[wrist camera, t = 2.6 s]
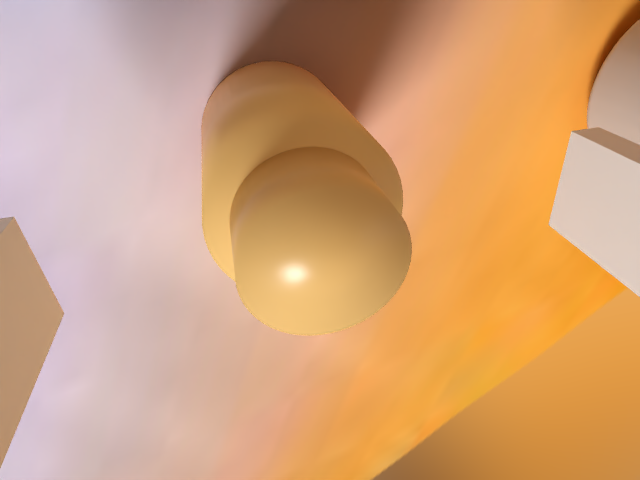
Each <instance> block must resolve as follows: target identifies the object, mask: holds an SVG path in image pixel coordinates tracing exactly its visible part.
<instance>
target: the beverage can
mask: <svg viewBox="0 0 640 480" xmlns="http://www.w3.org/2000/svg"><path fill="white" fill-rule="evenodd" d="M587 126H588V129H590V128H596V127H600V128H602V129H604V130H607V131H609V132H611V133H613V134H616V135H618V136H620V137H623V138H625V139H627V140H630V141H632V142H634V143H636V144H639V145H640V19H639V20H638V21H637V22H636V23H634V24H633V25H632V26H631V27H630V28H629V29H628V30H627V31H626V33H625V34H624V35H623V36H622V37H621V38H620V39H619V41H618V42H617V43H616V45H615V46H614V47H613V49H612V50H611V51H610V53H609V55H608V56H607V58H606V59H605V61H604V63H603V64H602V66H601V68H600V70H599V72H598V75H597V77H596V79H595V81H594V84H593V87H592V90H591V93H590V97H589V102H588V108H587Z"/></svg>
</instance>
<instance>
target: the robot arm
mask: <svg viewBox="0 0 640 480" xmlns="http://www.w3.org/2000/svg"><path fill="white" fill-rule="evenodd" d="M549 226H551V227H552V228H553V229H554V230H556V231H557V232H558V233H560V234H561V235H562V236H563V237H565V238H566V239H567V240H568V241H570V242H571V243H572V244H573V245H575V246H576V247H577V248H579V249H580V250H581V251H582V252H584V253H585V254H586V255H587V256H589V257H590V258H591V259H592V260H594V261H595V262H596V263H598V264H599V265H600V266H601V267H603V268H604V269H605V270H606V271H608V272H609V273H610V274H611V275H613V276H614V277H615V278H617V279H618V280H619V281H620V282H622V283H623V284H624V285H625V286H627V287H628V288H629V289H631V290H632V291H633V292H634V293H636V294H637V295H638V296H639V297H640V145H639V144H636V143H634V142H632V141H630V140H627V139H625V138H623V137H620V136H618V135H616V134H613V133H611V132H609V131H607V130H604V129H602V128H600V127H596V128H590V129H583V130H577V131H572V132H571V136H570V140H569V144H568V148H567V152H566V156H565V160H564V164H563V168H562V172H561V176H560V181H559V185H558V189H557V193H556V197H555V201H554V205H553V209H552V213H551V217H550V221H549ZM63 315H64V312H63V310H62V308H61V306H60V304H59V303H58V301H57V299H56V297H55V295H54V293H53V291H52V289H51V287H50V285H49V283H48V281H47V279H46V277H45V276H44V274H43V272H42V270H41V268H40V266H39V264H38V262H37V260H36V258H35V256H34V254H33V252H32V250H31V249H30V247H29V245H28V243H27V241H26V239H25V237H24V235H23V233H22V231H21V229H20V227H19V225H18V224H17V222H16V220H15V218H14V217H8V218H2V219H0V468H1V465H2V463H3V460H4V458H5V455H6V453H7V451H8V448H9V446H10V443H11V441H12V438H13V436H14V434H15V431H16V429H17V426H18V424H19V422H20V419H21V417H22V414H23V412H24V409H25V407H26V405H27V402H28V400H29V397H30V395H31V392H32V390H33V388H34V385H35V383H36V380H37V378H38V375H39V373H40V371H41V368H42V366H43V363H44V361H45V358H46V356H47V354H48V351H49V349H50V346H51V344H52V342H53V339H54V337H55V334H56V332H57V329H58V327H59V325H60V322H61V320H62V317H63Z"/></svg>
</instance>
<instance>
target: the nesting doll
mask: <svg viewBox="0 0 640 480" xmlns="http://www.w3.org/2000/svg"><path fill="white" fill-rule="evenodd" d="M201 134H202V227H203V233H204V238H205V241H206V244H207V247H208V249H209V251H210V253H211V255H212V257H213V259H214V260H215V262H216V263H217V264H218V266H219V267H220V268H221V269H222V270H223V271H224V272H225V273H226V274H227V275H228V276H229V277H230V278H231V279H233V280H234V281H235V282H236V287H237V290H238V293H239V296H240V298H241V300H242V302H243V304H244V305H245V307H246V308H247V309H248V311H249V312H250V313H251V314H252V315H253V316H254V317H255V318H257V319H258V320H259V321H261V322H262V323H263V324H265V325H267V326H269V327H271V328H273V329H276V330H278V331H281V332H285V333H289V334H295V335H308V336H312V335H323V334H329V333H334V332H338V331H341V330H344V329H347V328H350V327H352V326H354V325H357V324H359V323H361V322H363V321H364V320H366V319H368V318H369V317H371V316H372V315H374V314H375V313H376V312H378V311H379V310H380V309H381V308H382V307H384V306H385V305H386V304H387V303H388V302H389V301H390V299H391V298H392V297H393V296H394V295H395V293H396V292H397V291H398V289H399V288H400V286H401V284H402V283H403V281H404V279H405V277H406V274H407V272H408V269H409V265H410V262H411V254H412V243H411V237H410V233H409V230H408V227H407V225H406V223H405V221H404V219H403V218H402V216H401V215H402V207H403V190H402V185H401V180H400V177H399V174H398V171H397V168H396V166H395V165H394V163H393V161H392V159H391V157H390V156H389V155H388V153H387V152H386V151H385V149H384V148H383V147H382V146H381V145H380V144H379V143H378V142H377V141H376V140H375V139H374V138H373V136H372V135H371V134H370V133H369V132H368V131H367V130H366V129H365V128H364V127H363V126H362V125H361V124H360V123H359V121H358V120H357V119H356V118H355V117H354V116H353V115H352V114H351V113H350V112H349V111H348V110H347V109H346V108H345V106H344V105H343V104H342V103H341V102H340V101H339V100H338V99H337V98H336V97H335V96H334V95H333V94H332V93H331V91H330V90H329V89H328V88H327V87H326V86H325V85H324V84H323V83H322V82H321V81H320V80H319V79H318V78H317V77H316V76H314V75H313V74H312V73H310V72H309V71H307V70H305V69H303V68H301V67H299V66H296V65H294V64H290V63H286V62H279V61H263V62H258V63H253V64H250V65H247V66H244V67H242V68H240V69H238V70H236V71H235V72H233V73H232V74H230V75H229V76H227V77H226V78H225V79H224V80H223V81H222V82H221V83H220V84H219V85H218V86H217V88H216V89H215V90H214V91H213V93H212V95H211V96H210V98H209V100H208V102H207V105H206V107H205V110H204V114H203V118H202V126H201Z"/></svg>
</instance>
